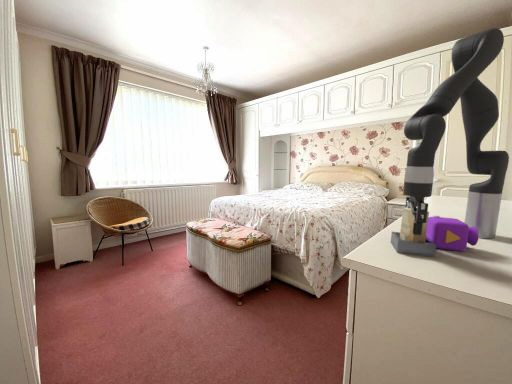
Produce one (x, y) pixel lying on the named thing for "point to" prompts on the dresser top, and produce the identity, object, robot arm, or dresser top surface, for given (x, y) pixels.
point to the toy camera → (451, 233)
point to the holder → (413, 246)
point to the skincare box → (411, 227)
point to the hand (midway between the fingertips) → (413, 231)
